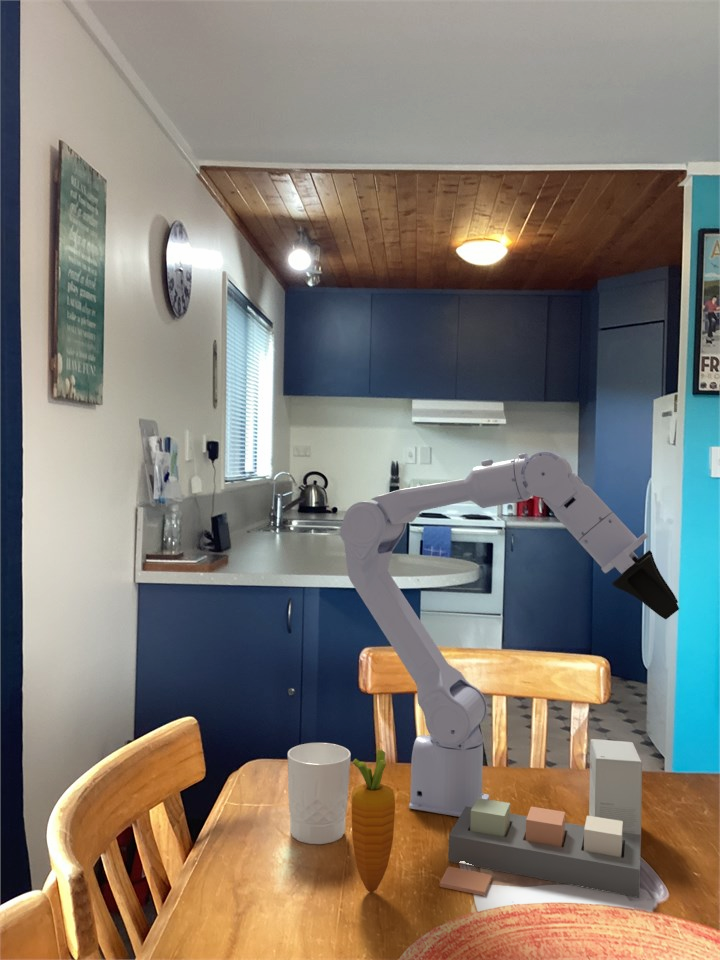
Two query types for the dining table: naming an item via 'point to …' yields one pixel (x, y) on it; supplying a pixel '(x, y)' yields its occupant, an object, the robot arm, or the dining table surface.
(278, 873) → the dining table surface
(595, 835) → the key cream
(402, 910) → the dining table surface
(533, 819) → the key terracotta
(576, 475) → the robot arm
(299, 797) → the white cup
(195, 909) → the dining table surface
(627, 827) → the small box
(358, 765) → the carrot
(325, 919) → the dining table surface
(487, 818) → the key sage
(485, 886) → the tile
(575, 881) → the keypad
